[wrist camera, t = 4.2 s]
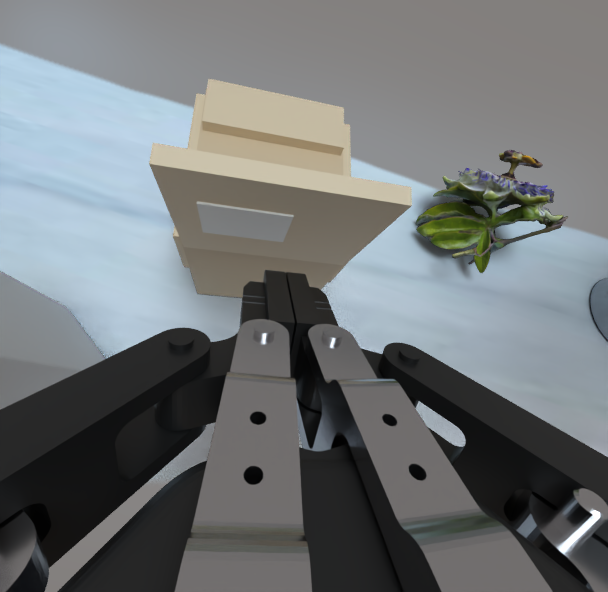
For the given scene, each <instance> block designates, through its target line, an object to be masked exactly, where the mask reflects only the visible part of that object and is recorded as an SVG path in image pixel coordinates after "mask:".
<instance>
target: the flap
mask: <svg viewBox="0 0 608 592" xmlns="http://www.w3.org/2000/svg"><path fill="white" fill-rule="evenodd" d="M149 164H150V167H151V169H152V172H153V174H154V176H155V179H156V181H157V184H158V186H159V189H160V191H161V193H162V196H163V198H164V201H165V203H166V206H167V208H168V210H169V213H170V215H171V218H172V220H173V223H174V225H175V227H176V230H177V232H178V235H179V237H180V240H181V242H182V244H183V247H189V248H197V249H206V250H215V251H223V252H232V253H241V254H250V255H258V256H267V257H276V258H284V259H293V260H302V261H311V262H319V263H328V264H337V265H345V264H346V263H347V262H349V261H350V260H351V259H352V258H353V257H354V256H355V255H356V254H358V253H359V252H360V251H361V250H362V249H363V248H364V247H366V246H367V245H368V244H369V243H370V242H371V241H372V240H373V239H375V238H376V237H377V236H378V235H379V234H380V233H381V232H383V231H384V230H385V229H386V228H387V227H388V226H389V225H390V224H392V223H393V222H394V221H395V220H396V219H397V218H398V217H399V216H401V215H402V214H403V213H404V212H405V211H406V210H407V209H409V208H410V207H411V206H412V198H411V187H407V186H401V185H395V184H389V183H384V182H378V181H372V180H366V179H360V178H354V177H349V176H343V175H337V174H331V173H325V172H320V171H314V170H308V169H302V168H296V167H291V166H285V165H279V164H273V163H267V162H262V161H256V160H250V159H244V158H238V157H232V156H227V155H221V154H215V153H209V152H203V151H198V150H192V149H186V148H180V147H174V146H169V145H163V144H157V143H153V145H152V151H151V156H150V162H149Z"/></svg>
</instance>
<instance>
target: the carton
mask: <svg viewBox="0 0 608 592" xmlns="http://www.w3.org/2000/svg"><path fill="white" fill-rule="evenodd" d="M187 149H192V150H198V151H203V152H209V153H215V154H221V155H227V156H232V157H238V158H244V159H250V160H256V161H262V162H267V163H273V164H279V165H285V166H291V167H296V168H302V169H308V170H314V171H320V172H325V173H331V174H337V175H343V176H349V177H351V157H350V125H349V124H344V108H343V107H338V106H334V105H328V104H324V103H320V102H315V101H310V100H306V99H301V98H297V97H292V96H287V95H283V94H278V93H273V92H269V91H264V90H259V89H255V88H250V87H245V86H241V85H236V84H232V83H227V82H222V81H218V80H213V79H209V80H208V86H207V89H206V94H205V95H203V94H198V93H197V94H196V100H195V106H194V112H193V118H192V124H191V130H190V136H189V142H188V148H187ZM173 238H174V240H175V243H176V246H177V249H178V252H179V255H180V257H181V260H182V263H183V266H184V267H187V268H190V271H191V274H192V277H193V281H194V284H195V287H196V290H197V293H198V294H205V295H216V296H227V297H239V298H243V288H244V286H245V285H246V284H247V283H248V282H249V281H253V282H263V278H264V272H265V270H273V271H282V272H285V273H286V272H292V273H302V274H305V275H306V277H307V280H308V283H309V286H310V287H315V288H319V289H320V290H321V289H322V288H323V287H324V286H325V285H326V283H327V282H331V281H332V280H333V279H334V277H335V276H336V275H337V274H338V273H339V272H340V271H341V270H342V269H343V267H344V266H345V265H346V264H347V263H348V262H347V263H346V264H345V265H337V264H328V263H319V262H311V261H302V260H293V259H284V258H276V257H267V256H258V255H250V254H241V253H232V252H223V251H215V250H206V249H197V248H189V247H183V244H182V242H181V240H180V237H179V235H178V232H177V230H176V227H174V233H173Z"/></svg>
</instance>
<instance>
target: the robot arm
mask: <svg viewBox="0 0 608 592" xmlns="http://www.w3.org/2000/svg"><path fill="white" fill-rule="evenodd" d="M591 309H592V313H593V317H594V320H595V322H596V324H597V326H598V328H599V329H600V331H601V332H602V333H603V335H604V336H605V337H606V338H607V339H608V278H605V279H603V280H600V281H599V282H598V283H597V284H596V285H595V286H594V288H593V290H592V293H591ZM418 401H420V402H421V403H423V404H424V405H426V406H427V407H429V408H430V409H432V410H433V411H435V412H436V413H438V414H439V415H441V416H442V417H444V418H445V419H447V420H448V421H450V422H451V423H453V424H454V425H456V426H457V427H458V428H459V429H460V430H461V431H462V432H463V434H464V436H465V439H466V444H465V446H463V447H458V446H454V445H452V444H451V443H449V442H448V441H447V440H445V439H444V438H442V437H441V436H440V435H438V434H437V433H435V432H434V431H432V430H431V429H430V428H428V427H427V426H426V424H425V423H424V421H423V420H422V418H421V417H420V415H419V413H418V412H417V410H416V409H415V408H416V406H417V404H418ZM214 422H216V424H215V428H214V433H213V437H212V442H211V446H210V451H209V455H208V459H207V461H205V462H202V463H200V464H198V465H196V466H194V467H191V468H189V469H188V470H186V471H185V472H183V473H181V474H180V475H178V476H177V477H175V478H174V479H173V480H172V481H170V482H169V483H168V484H166V485H165V486H164V487H163V488H162V489H161V490H160V491H159V492H157V493H156V495H154V496H153V497H152V498H151V499H150V500H149V501H148V502H147V503H146V504H145V505H144V506H143V508H141V509H140V510H139V511H138V512H137V513H136V514H135V515H134V516H133V517H132V518H131V519H130V520H129V521H128V522H127V523H126V524H125V525H124V526H123V527H122V528H121V529H120V530H119V531H118V532H117V533H116V534H115V535H114V536H113V537H112V538H111V539H110V540H109V541H108V542H107V543H106V544H105V545H104V546H103V547H102V548H101V549H100V550H99V551H98V552H97V553H96V554H95V555H94V556H93V557H92V558H91V559H90V560H89V561H88V562H87V563H86V564H85V565H84V566H83V567H82V568H81V569H80V570H79V571H78V572H77V573H76V574H75V575H74V576H73V577H72V578H71V579H70V580H69V581H68V582H67V583H66V584H65V585H64V586H63V587H62V588H61V589H60V590H59V591H58V592H608V457H606V456H604V455H603V454H601V453H599V452H597V451H596V450H594V449H592V448H590V447H589V446H587V445H585V444H583V443H582V442H580V441H578V440H576V439H575V438H573V437H571V436H570V435H568V434H566V433H564V432H563V431H561V430H559V429H557V428H556V427H554V426H552V425H550V424H549V423H547V422H545V421H543V420H542V419H540V418H538V417H536V416H535V415H533V414H531V413H529V412H528V411H526V410H524V409H522V408H521V407H519V406H517V405H515V404H514V403H512V402H510V401H509V400H507V399H505V398H503V397H502V396H500V395H498V394H496V393H495V392H493V391H491V390H489V389H488V388H486V387H484V386H482V385H481V384H479V383H477V382H475V381H474V380H472V379H470V378H468V377H467V376H465V375H463V374H461V373H460V372H458V371H456V370H454V369H453V368H451V367H449V366H448V365H446V364H444V363H442V362H441V361H439V360H437V359H435V358H434V357H432V356H430V355H428V354H427V353H425V352H423V351H421V350H420V349H418V348H416V347H413V346H411V345H408V344H404V343H391V344H388V345H387V346H385V348H384V351H383V354H379V353H375V352H371V351H368V350H364V349H361V348H360V347H359V345H358V343H357V342H356V340H355V338H354V337H353V335H352V334H351V333H350V332H348V331H347V330H345V329H343V328H341V327H339V326H338V324H337V321H336V319H335V316H334V314H333V311H332V310H331V306H330V304H329V301H328V299H327V297H326V295H325V294H324V293H323V292H322V291H321V290H320V289H319V288H315V287H310V286H309V283H308V280H307V277H306V275H305V274H302V273H292V272H286V273H285V272H282V271H273V270H265V272H264V278H263V282H253V281H249V282H248V283H247V284H246V285H245V286H244V288H243V298H242V308H241V318H240V328H239V331H238V333H237V334H236V335H234V336H233V337H231V338H229V339H226V340H222V341H217V342H210V339H209V338H208V336H207V335H206V334H204V333H203V332H201V331H198V330H195V329H191V328H175V329H170V330H166V331H164V332H161V333H159V334H157V335H155V336H153V337H151V338H149V339H147V340H145V341H143V342H141V343H138V344H136V345H134V346H132V347H130V348H128V349H126V350H124V351H122V352H120V353H118V354H115V355H113V356H111V357H109V358H107V359H105V360H103V361H101V362H99V363H97V364H95V365H92V366H90V367H88V368H86V369H84V370H82V371H80V372H78V373H76V374H74V375H72V376H70V377H67V378H65V379H63V380H61V381H59V382H57V383H55V384H53V385H51V386H49V387H47V388H44V389H42V390H40V391H38V392H36V393H34V394H32V395H30V396H28V397H26V398H24V399H21V400H19V401H17V402H15V403H13V404H11V405H9V406H7V407H5V408H3V409H1V410H0V592H44V591H45V588H46V586H47V582H48V576H49V567H51V566H52V565H53V564H54V563H55V562H56V561H58V560H59V559H60V558H61V557H62V556H63V555H64V554H65V553H67V552H68V551H69V550H70V549H71V548H72V547H74V546H75V545H76V544H77V543H78V542H79V541H80V540H81V539H83V538H84V537H85V536H86V535H87V534H88V533H89V532H91V531H92V530H93V529H94V528H95V527H96V526H97V525H99V524H100V523H101V522H102V521H103V520H104V519H105V518H107V517H108V516H109V515H110V514H111V513H112V512H113V511H114V510H116V509H117V508H118V507H119V506H120V505H121V504H123V503H124V502H125V501H126V500H127V499H128V498H129V497H130V496H132V495H133V494H134V493H135V492H136V491H137V490H138V489H140V488H141V487H142V486H143V485H144V484H145V483H146V482H148V481H149V480H150V479H151V478H152V477H153V476H154V475H156V474H157V473H158V472H159V471H160V470H161V469H162V468H163V467H165V466H166V465H167V464H168V463H169V462H170V461H171V460H173V459H174V458H175V457H176V456H177V455H178V454H179V453H181V452H182V451H183V450H184V449H185V448H186V447H187V446H189V445H190V444H191V443H192V442H193V441H194V440H195V439H197V438H198V437H199V436H200V435H201V434H202V432H203V431H204V429H205V427H206V425H207V424H211V423H214ZM298 430H299V434H300V439H301V443H302V447H303V448H299V437H298Z"/></svg>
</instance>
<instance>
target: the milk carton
mask: <svg viewBox="0 0 608 592" xmlns="http://www.w3.org/2000/svg"><path fill="white" fill-rule="evenodd" d="M103 360H105V358H104V356H103V355H102V353H101V352H100V351H99V349H98V348H97V347H96V345H95V344H94V343H93V341H92V340H91V339H90V337H89V336H88V335H87V333H86V332H85V331H84V329H83V328H82V327H81V325H80V324H79V323H78V321H77V320H76V318H75V317H74V316H73V314H72V313H71V312H70V311H69V309H68V308H67V307H66V306H64V305H62V304H60V303H58V302H56V301H55V300H53V299H51V298H49V297H47V296H45V295H44V294H42V293H40V292H38V291H36V290H34V289H33V288H31V287H29V286H27V285H25V284H23V283H22V282H20V281H18V280H16V279H14V278H12V277H11V276H9V275H7V274H5V273H3V272H1V271H0V410H1V409H3V408H5V407H7V406H9V405H11V404H13V403H15V402H17V401H19V400H21V399H24V398H26V397H28V396H30V395H32V394H34V393H36V392H38V391H40V390H42V389H44V388H47V387H49V386H51V385H53V384H55V383H57V382H59V381H61V380H63V379H65V378H67V377H70V376H72V375H74V374H76V373H78V372H80V371H82V370H84V369H86V368H88V367H90V366H92V365H95V364H97V363H99V362H101V361H103Z"/></svg>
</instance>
